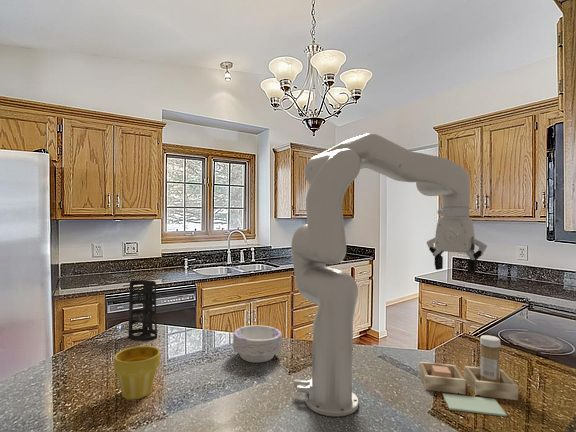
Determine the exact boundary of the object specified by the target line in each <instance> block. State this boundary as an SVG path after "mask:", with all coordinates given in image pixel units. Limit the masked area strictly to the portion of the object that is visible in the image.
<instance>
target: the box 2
mask: <svg viewBox="0 0 576 432" xmlns="http://www.w3.org/2000/svg"><path fill="white" fill-rule="evenodd" d="M463 374H464V375H463V377H464V378H465V380H466V381H467V382H466V383H467V385H468V384H469V385H468V386H469V388H470V387H471V388H470V389H471V391H472V390H473V391H472V392H473V394H474V393H475V394H474V395H475V396H476V395H480V396H479V397H484V398H493V399H503V400H505V399H506V400H514V401H519V385H518V384H517V383H516V382H515V381H514V380H513V379H512V377H510V375H508V374H507V373H506V372H505V370H504V369H501V368H500V378H499V383H498V382H488V381H481V366H480V367H478V366H470V365H468V366H467V365H465V366H464V373H463Z"/></svg>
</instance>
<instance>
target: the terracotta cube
mask: <svg viewBox="0 0 576 432" xmlns="http://www.w3.org/2000/svg"><path fill="white" fill-rule="evenodd" d="M431 376H440V377H450V378H451V372H450V371H449V369H448V367H444V366H434V365H432V374H431Z"/></svg>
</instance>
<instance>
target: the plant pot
mask: <svg viewBox="0 0 576 432" xmlns="http://www.w3.org/2000/svg"><path fill="white" fill-rule="evenodd" d="M113 363H114V364H113V365H114V366H113V369H114V370H113V371H114V372H115V374H117V378H118V381H119V385H120V387H119V388H120V391H121V392H120V393H121V396H122V397H123V398H124V399H126V400H130V401H131V400H138V399H142V398H145V397H147V396H149V394H151V393H152V390H153V386H154V381H155V377H156V374H157V369H158V368H159V366H160V364H161V350H160V349H159V347H156V346H152V345H139V346H132V347H128V348H125V349H122V350H120V351H119V352H118V351H117V353H116V354H115V355H114V359H113Z"/></svg>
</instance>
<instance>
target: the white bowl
mask: <svg viewBox="0 0 576 432" xmlns="http://www.w3.org/2000/svg"><path fill="white" fill-rule="evenodd" d="M232 335H233V336H232V339H233V340H232V349H233V350H234V352H235V353H238V355H239V356H240V357H241V359H242V360H244V361H245V362H247V363H248V362H249V363H254V364H255V363H257V364H258V363H259V364H260V363H265V362H268V361H270V360H272V359H273V358H274V356H275V355H276V354H278V353H279V352H280V351H281V350H282V340H283V333H282V331H281V330H280V329H278V328H276V327H273V326H268V325H258V324H257V325H254V324H253V325H246V326H241V327H239V328H236V329H235V330H234V331H233V334H232Z"/></svg>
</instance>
